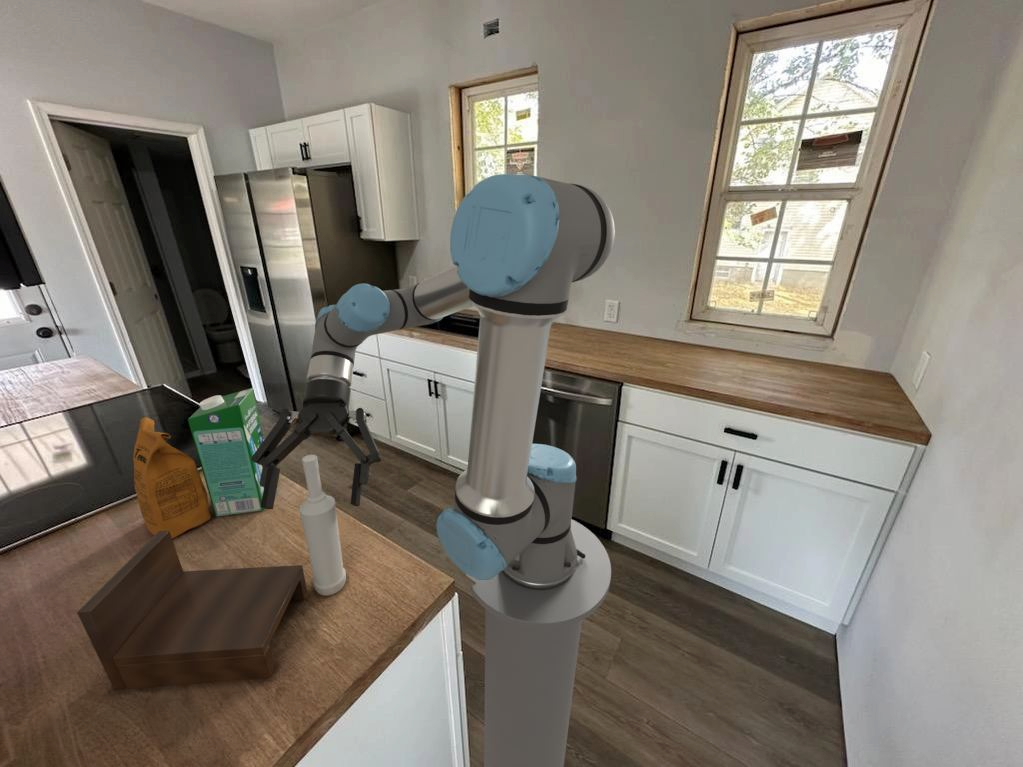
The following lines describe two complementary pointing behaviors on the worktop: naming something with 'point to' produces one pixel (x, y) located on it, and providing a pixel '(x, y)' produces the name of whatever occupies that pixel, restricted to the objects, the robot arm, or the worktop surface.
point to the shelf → (187, 619)
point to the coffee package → (167, 484)
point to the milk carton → (229, 451)
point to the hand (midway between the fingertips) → (311, 506)
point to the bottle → (321, 532)
